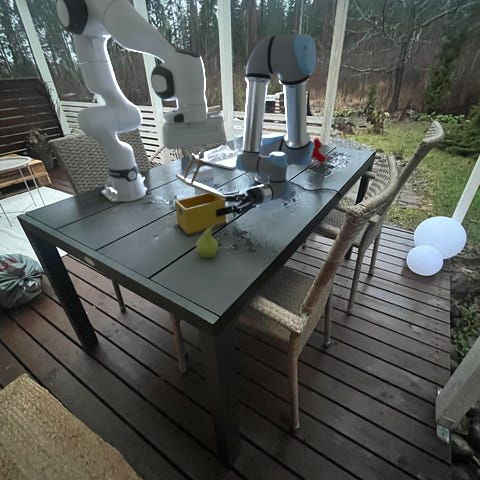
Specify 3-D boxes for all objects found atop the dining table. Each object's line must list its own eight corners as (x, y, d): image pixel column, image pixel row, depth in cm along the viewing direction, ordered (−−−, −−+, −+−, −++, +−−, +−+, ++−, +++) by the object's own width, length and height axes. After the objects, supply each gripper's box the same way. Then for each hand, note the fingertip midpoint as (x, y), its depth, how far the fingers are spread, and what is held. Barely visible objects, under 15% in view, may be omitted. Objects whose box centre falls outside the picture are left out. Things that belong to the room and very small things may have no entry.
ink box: (208, 188, 135) (206, 165, 129) (214, 191, 132) (213, 167, 126) (194, 193, 130) (191, 169, 124) (200, 196, 127) (198, 172, 121)
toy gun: (330, 157, 167) (317, 136, 163) (329, 159, 164) (317, 138, 160) (304, 172, 177) (292, 153, 173) (303, 174, 174) (291, 155, 170)
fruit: (195, 252, 89) (191, 220, 82) (216, 247, 91) (214, 216, 85) (200, 264, 84) (196, 230, 77) (223, 258, 86) (221, 225, 79)
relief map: (231, 168, 161) (231, 160, 158) (189, 159, 179) (189, 151, 176) (257, 158, 179) (257, 150, 176) (217, 150, 197) (216, 142, 194)
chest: (188, 236, 97) (184, 210, 92) (178, 226, 104) (174, 200, 98) (226, 224, 105) (225, 199, 99) (214, 215, 111) (213, 191, 106)
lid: (186, 184, 88) (197, 158, 86) (175, 176, 94) (185, 151, 92) (224, 199, 99) (235, 175, 97) (212, 191, 105) (222, 169, 103)
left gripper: (217, 110, 90) (219, 152, 98) (157, 115, 81) (164, 161, 88) (227, 112, 86) (228, 156, 93) (164, 118, 76) (171, 166, 84)
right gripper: (243, 178, 119) (197, 189, 109) (275, 195, 103) (224, 210, 93) (243, 194, 123) (198, 206, 113) (274, 213, 107) (225, 229, 97)
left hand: (196, 159), depth 91 cm, fingers closed
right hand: (210, 208), depth 103 cm, fingers closed on chest, 9 cm apart
